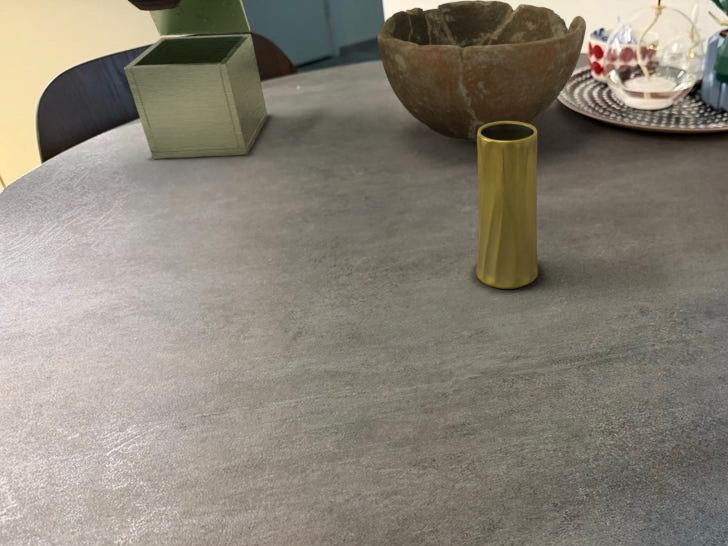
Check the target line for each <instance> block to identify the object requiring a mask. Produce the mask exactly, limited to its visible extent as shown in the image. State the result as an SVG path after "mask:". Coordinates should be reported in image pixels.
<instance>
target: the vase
mask: <svg viewBox="0 0 728 546" xmlns="http://www.w3.org/2000/svg"><path fill="white" fill-rule="evenodd" d="M476 151H477V183H478V184H477V186H478V225H477V226H478V229H477V231H478V232H477V239H478V240H477V265H476V272H475V273H476V277H477V279H478V280H479V281H481V283H483V284H484V285H486V286H489V287H493V288H496V289H505V290H512V289H513V290H514V289H519V288H522V287H525V286H527V285H529V284H531V283H533V282H534V281H535V280H536V279H537V277H538V275H539V265H538V232H537V231H538V230H537V227H538V226H537V225H538V221H537V213H538V211H537V209H538V205H537V204H538V196H537V195H538V192H537V190H538V189H537V184H538V183H537V181H538V179H537V178H538V177H537V169H538V168H537V167H538V166H537V164H538V130H537V128H536V127H535V126H534V125H532V124H530V123H529V124H527V123H523V122H517V121H498V122H493V123H488V124H485V125H483V126H482V127H480V128H479V129H478V133H477V141H476Z"/></svg>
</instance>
